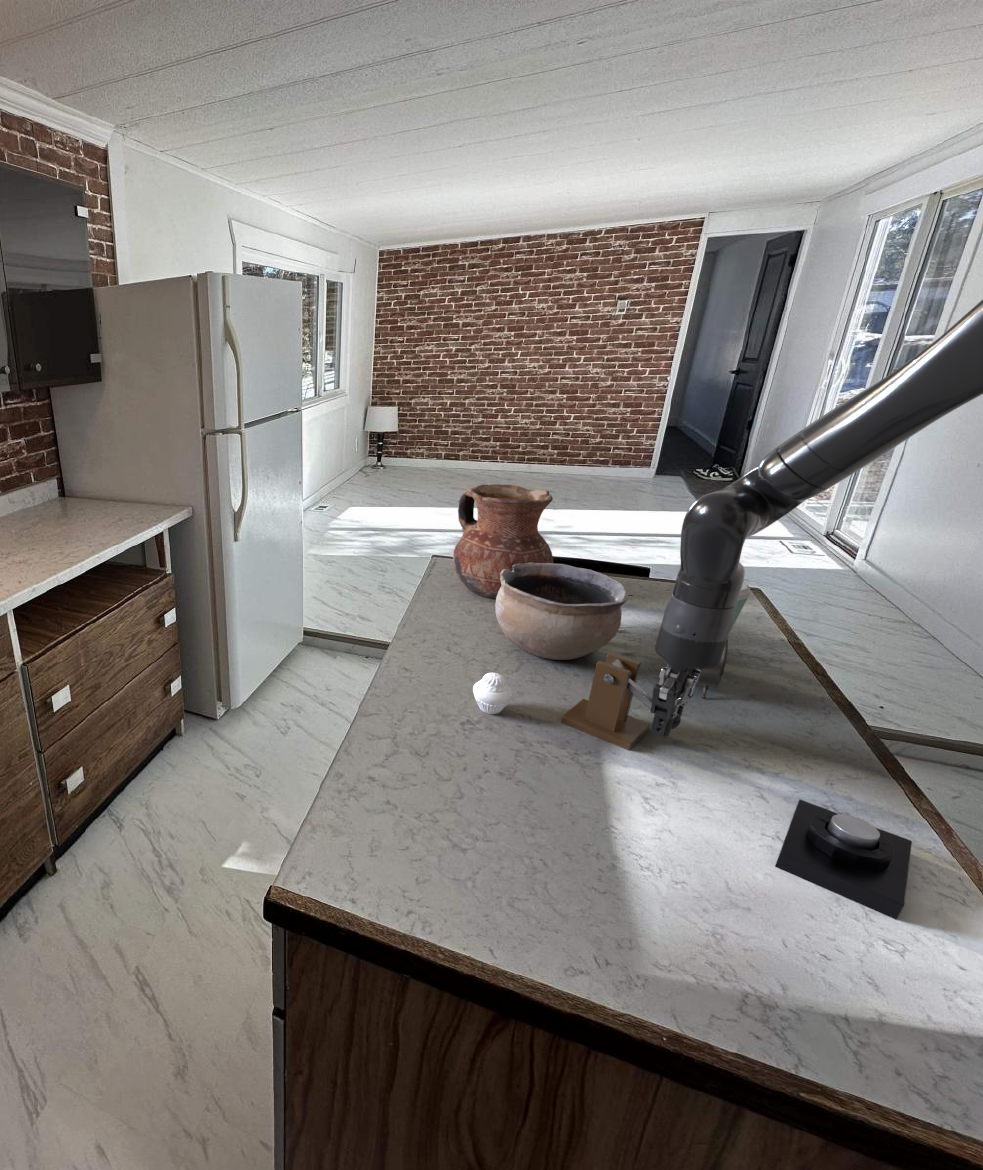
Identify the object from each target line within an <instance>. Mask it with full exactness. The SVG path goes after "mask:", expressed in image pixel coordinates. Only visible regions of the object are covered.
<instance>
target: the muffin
mask: <svg viewBox="0 0 983 1170" xmlns="http://www.w3.org/2000/svg"><path fill="white" fill-rule="evenodd" d="M472 693H473V697H474V699H475V701H476V703H477V705H478V707H479V710H480V711H482V712H484V713H485V714H489V715H497V714H498V715H499V714H500V713H501V712H502V711H503V710H504V709H505V708H506V707H507V705H509V703H510V701H511V700H512V698H513V691H512V689H511V687H510V686H509V685H508V683H507V680H506V678H505V677H504V675H502V674H500V673H498V672H488V673H485V674H484V675H483V676H482V679H480V680H478V681H476V682H475V683H474V685H473V687H472Z"/></svg>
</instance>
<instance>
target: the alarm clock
mask: <svg viewBox="0 0 983 1170" xmlns="http://www.w3.org/2000/svg"><path fill="white" fill-rule="evenodd" d="M728 646H729V638H728V639H727V642H726V645H725V648H724V651H723V654H722V657H721V660H720V663H719V664H718V665H717V666H716V667H713V668H710V669H703V670H702V674H701V677H700V678H699V680H698V682H697V686H698V685H699V686H701V695H700V696H701V699H706V698H707V693H708V688H709V687H711V688H717V687H719V686H720V684H721V681H722V679H723V676H724V672H725V668H726V663H727V655H728Z"/></svg>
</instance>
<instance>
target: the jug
mask: <svg viewBox="0 0 983 1170" xmlns="http://www.w3.org/2000/svg"><path fill="white" fill-rule="evenodd" d="M553 499H554V497H553V496H552V494H550V491H549V490H547V489H541V488H535V489H530V488H525V487H522V486H519V485H517V484H506V483H505V484H504V483H503V484H500V483H499V484H497V483H494V484H493V483H492V484H478V485H476V486H473V487H469V488H467V489H466V490H465V491H463V493H462V494H461V496H460V498H459V501H458V509H457V514H458V515H457V516H458V522H459V525H460V527H461V529H462V532H463V533H462V535H461V537H460V539H459V540H458V542H457V543H456V544H455V546H454V548H453V552H452V553H453V554H452V555H453V556H452V565H453V567H454V568H453V569H454V571H455V574H456V576H457V578H458V579H459V580H460V582H461V583H462V584H463V585H464V586H465V587H466V588H467V589H468V591H470V592H472V593H474V594H475V595H477V596H480V597H484V598H487V599H488V598H489V599H496V597H497V594H498V591H499V589H500V588H501V586H502V585H501V581H500V573H501V571H502V570H503V569H508V570H510V571H513V567H512V566H513V565H515V564H524V563H532V562H533V563H553V564H554V556H553V551H552V549H551V547H550V545H549V543H548V542H547V541H546V540H545V538H544V537H543V536H542V534H540V532H539V529H538V525H539V521H540V519H541V515H542V514H543V512H544V511H545V509H546V508H547V507H548V506H549V505H550V504H551V503H552V502H553ZM475 505H476V511H477V519H475V517H474V515H475V513H474V512H475V511H474V509H475Z"/></svg>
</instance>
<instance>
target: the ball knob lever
mask: <svg viewBox="0 0 983 1170" xmlns="http://www.w3.org/2000/svg"><path fill="white" fill-rule="evenodd" d="M611 665H614V666H617V667H620V668H623V669H626V670H629V669H628V668H627V667H626V666H625V665H624V664H622V663H621V662H620V661H619V660H618V659H617V660H616V661H614V662H613V663H612V664H611ZM629 671H630V670H629ZM631 674H632V672H631V673H630V675H631ZM627 689H628V690H629V691H631V692H632V693H633V696H635V697H636V698H637V699H638V700H639V701H641V703H643V705H644V706H645V707H647V708H648V709H649V710H650V711H651V704H652V696H651V695H650V694H648V693H647V692H646V691H645V690H643V688H641V687H640V685H638V684H637V682H636V683H635V682H633V681H632V680H631V679H630V678H629V681H628V686H627ZM676 714H677V716H676V717H675V718H674V721H673V724H672V728H671V730H675V729H676V728H678V727H679V726H680V724H681V721H682V719H681V718H682V717H681V718H680V716H679V714H678V713H676ZM654 716H655V714H654ZM654 716H653V717H654Z"/></svg>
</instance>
